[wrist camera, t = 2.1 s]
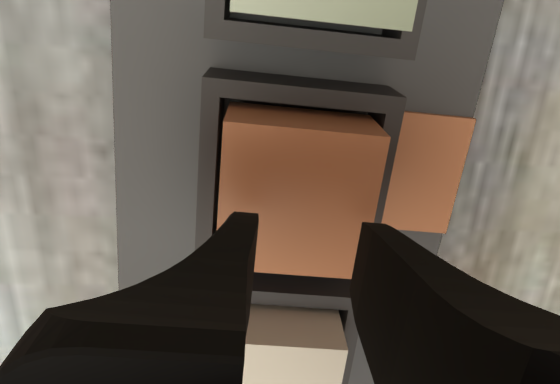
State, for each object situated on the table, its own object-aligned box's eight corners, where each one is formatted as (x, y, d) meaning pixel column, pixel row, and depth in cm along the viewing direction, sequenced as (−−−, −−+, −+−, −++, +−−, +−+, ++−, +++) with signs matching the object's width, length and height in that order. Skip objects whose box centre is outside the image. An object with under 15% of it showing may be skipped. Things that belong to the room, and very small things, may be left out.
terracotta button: (369, 115, 17) (390, 137, 14) (347, 238, 18) (362, 279, 16) (229, 101, 16) (223, 121, 13) (221, 228, 18) (214, 268, 15)
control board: (530, -207, 16) (624, -280, 12) (384, 388, 26) (407, 461, 22) (121, -269, 15) (66, -372, 11) (132, 374, 25) (106, 447, 21)
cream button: (336, 301, 20) (348, 350, 17) (320, 391, 21) (328, 449, 19) (217, 293, 19) (209, 342, 16) (211, 385, 21) (203, 443, 18)
